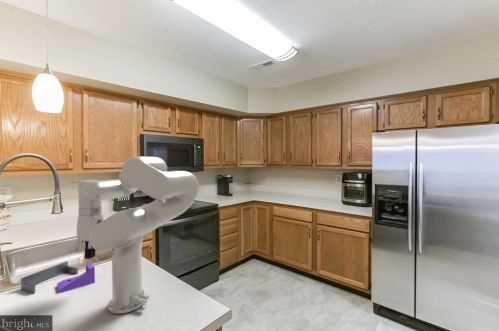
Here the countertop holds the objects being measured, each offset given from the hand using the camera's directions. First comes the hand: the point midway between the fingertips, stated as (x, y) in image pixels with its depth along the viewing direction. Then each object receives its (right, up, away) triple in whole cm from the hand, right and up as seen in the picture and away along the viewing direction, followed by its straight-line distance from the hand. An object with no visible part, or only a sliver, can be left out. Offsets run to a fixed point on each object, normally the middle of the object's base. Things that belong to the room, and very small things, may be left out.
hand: (90, 257), depth 95 cm
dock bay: (-21, -13, +7) cm, 26 cm away
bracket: (-9, -14, +5) cm, 18 cm away
